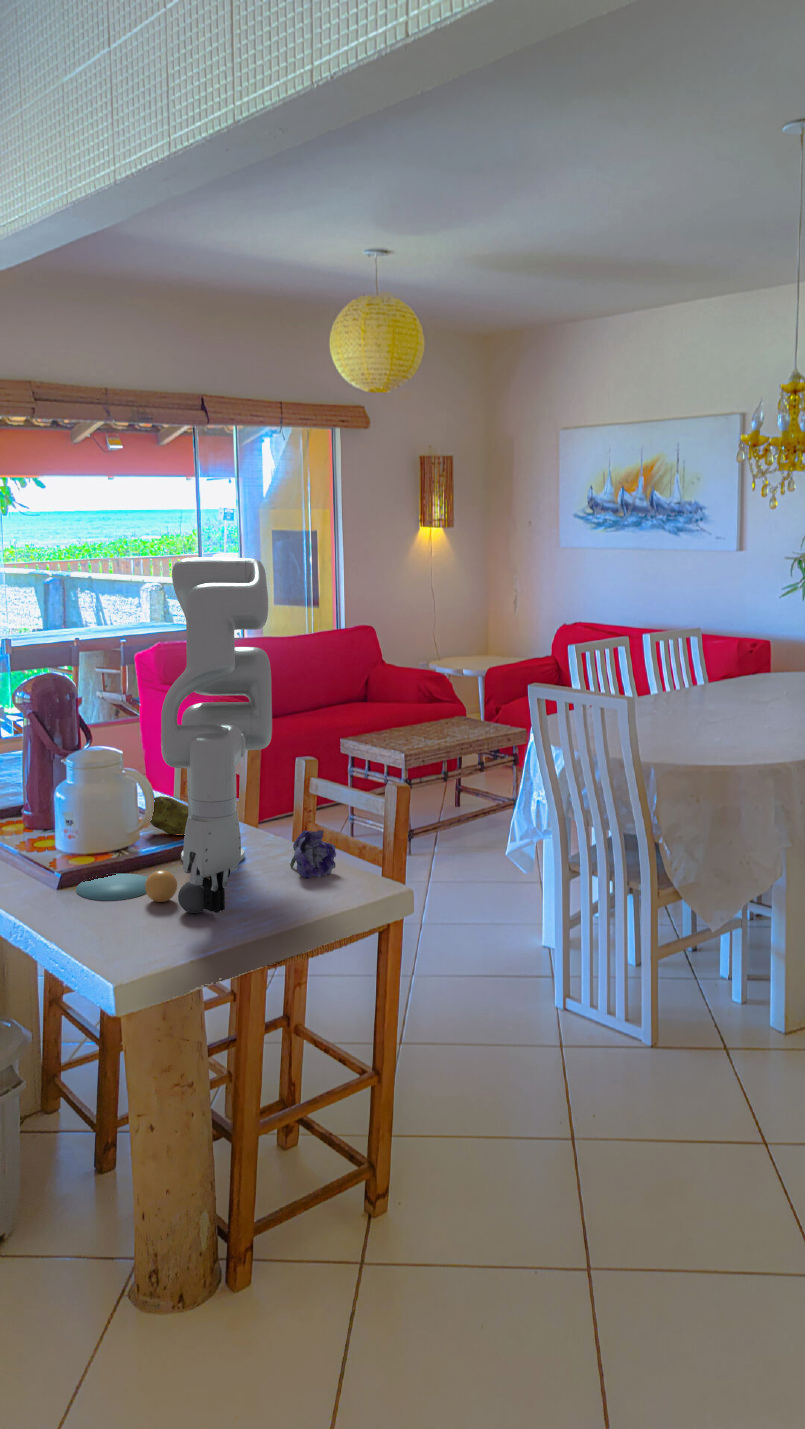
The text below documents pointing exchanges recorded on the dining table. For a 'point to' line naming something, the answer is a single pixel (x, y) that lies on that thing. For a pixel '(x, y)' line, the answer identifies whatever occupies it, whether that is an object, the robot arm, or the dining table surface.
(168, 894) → the object ball
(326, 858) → the flower
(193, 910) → the dark grey ball
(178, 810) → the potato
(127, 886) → the teal flat disc
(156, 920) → the dining table surface
